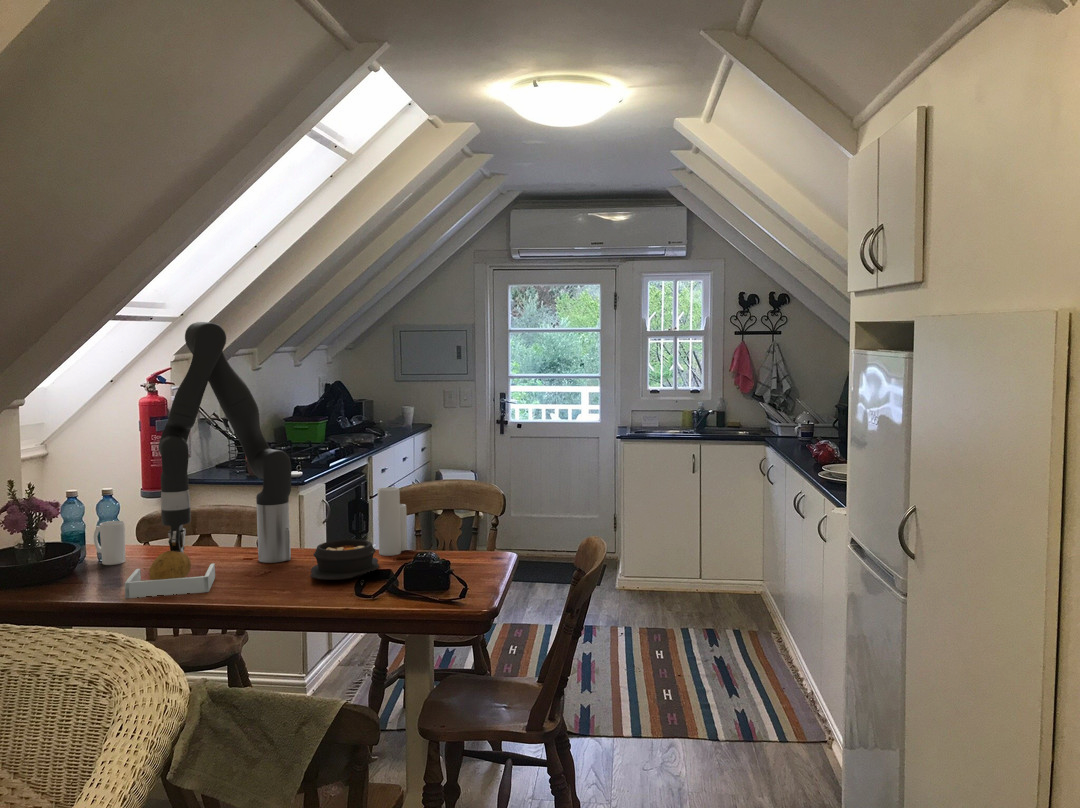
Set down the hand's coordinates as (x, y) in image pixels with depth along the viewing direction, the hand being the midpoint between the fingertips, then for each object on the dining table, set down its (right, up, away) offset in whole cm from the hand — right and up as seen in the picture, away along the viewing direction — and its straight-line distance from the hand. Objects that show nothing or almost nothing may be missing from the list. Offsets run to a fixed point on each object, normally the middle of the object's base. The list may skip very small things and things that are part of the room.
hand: (178, 568), depth 240 cm
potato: (+1, -3, -9) cm, 9 cm away
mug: (-29, -2, +19) cm, 34 cm away
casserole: (+46, -2, +1) cm, 46 cm away
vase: (+55, 0, +28) cm, 61 cm away
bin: (+3, -3, -11) cm, 11 cm away
